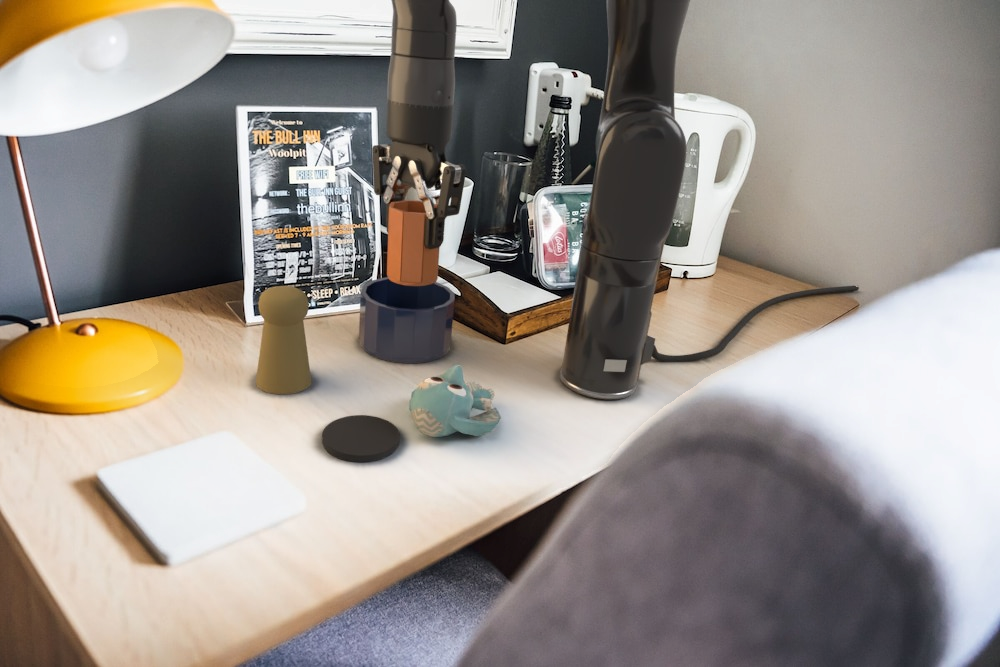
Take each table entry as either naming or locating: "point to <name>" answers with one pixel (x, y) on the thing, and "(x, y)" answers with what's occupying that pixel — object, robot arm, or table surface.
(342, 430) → the disc
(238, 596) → the table surface
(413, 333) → the big pot
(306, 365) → the olive brown pawn
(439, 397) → the stuffed animal
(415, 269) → the copper pot
